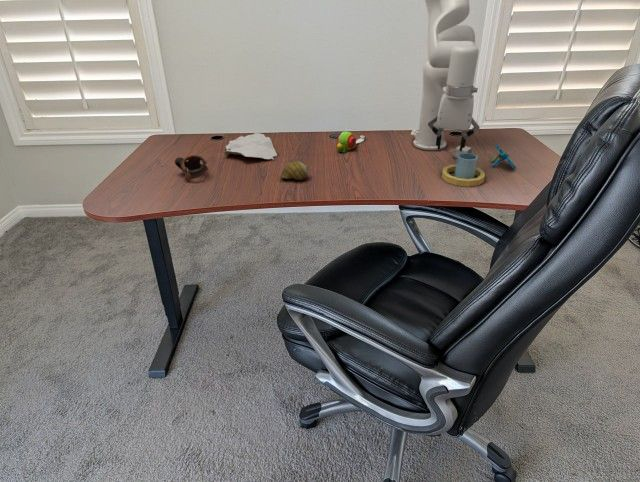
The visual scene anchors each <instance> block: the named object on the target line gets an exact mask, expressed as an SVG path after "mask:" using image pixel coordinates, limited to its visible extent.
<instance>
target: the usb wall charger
mask: <svg viewBox="0 0 640 482" xmlns="http://www.w3.org/2000/svg"><path fill="white" fill-rule="evenodd" d="M449 152H450V153H453V154H454V158H455V159H457V157H458V154H461V153H471V154H473V147H470V146H466V145H465V148H462V151H460V145H459V146H456V148H453V147H452V149H450V150H449Z"/></svg>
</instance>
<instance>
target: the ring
mask: <svg viewBox="0 0 640 482" xmlns="http://www.w3.org/2000/svg"><path fill="white" fill-rule="evenodd" d="M455 169H456V164H448V165H446V166H445V167H443V168H442V173H441V179H442V180H444V181H445V182H446V183H447V184H448V183H449V184H451V185H454V186H458V187H459V186H460V187H468V188H469V187H476V186H477V187H478V186H480V185H481V184H483V183H485V180H486V172H485V171H484V170H483V169H481V168H480V167H478V166H476V171H475V176H476V177H474V178H473V179H462V178H457V177H454V175H451V174H450V173H455Z"/></svg>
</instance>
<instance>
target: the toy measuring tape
mask: <svg viewBox="0 0 640 482" xmlns="http://www.w3.org/2000/svg"><path fill="white" fill-rule="evenodd" d="M366 139H367V136H366V135H360V136H359V138H358V139H356V137H355V134H354V133H353V132H350V131H346V130H345V131H343V132H341V133H340V135H338V137H337V141H336V142H337V143H336V144H337V145H336V149H337V152H340V153H346V152H348V151H351V150H352V149H354V148H356V147H357V146H358V145H357V144H361V143H363V142H364V141H365V140H366Z"/></svg>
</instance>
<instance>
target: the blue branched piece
mask: <svg viewBox="0 0 640 482" xmlns="http://www.w3.org/2000/svg"><path fill="white" fill-rule="evenodd" d="M494 147H495V148H496V150H498V152H497V153H498V154H497V155H496V157H494V158H493V159H492V160H491V162H492V164H491V166H492V167H493V168H494V167H496V166H497V165H498V164H500V163H501V162H504V161H507V163H508V164H509V165H510V166H511V167H512V169H515V168H516V165H515V164H514V163H513V162H512V160H511V159H510V157H509V154H508V153H506V152H504V151H503V150H502V148H500V146H499V145H498V144H496V145H494Z"/></svg>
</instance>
